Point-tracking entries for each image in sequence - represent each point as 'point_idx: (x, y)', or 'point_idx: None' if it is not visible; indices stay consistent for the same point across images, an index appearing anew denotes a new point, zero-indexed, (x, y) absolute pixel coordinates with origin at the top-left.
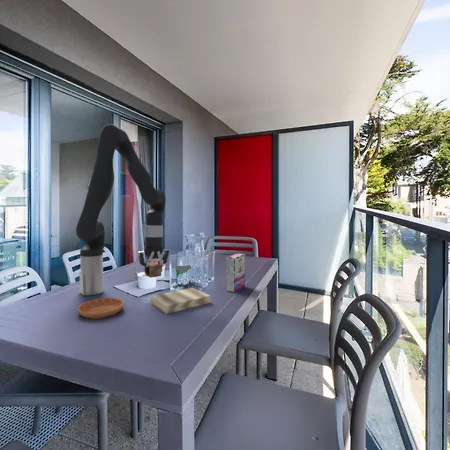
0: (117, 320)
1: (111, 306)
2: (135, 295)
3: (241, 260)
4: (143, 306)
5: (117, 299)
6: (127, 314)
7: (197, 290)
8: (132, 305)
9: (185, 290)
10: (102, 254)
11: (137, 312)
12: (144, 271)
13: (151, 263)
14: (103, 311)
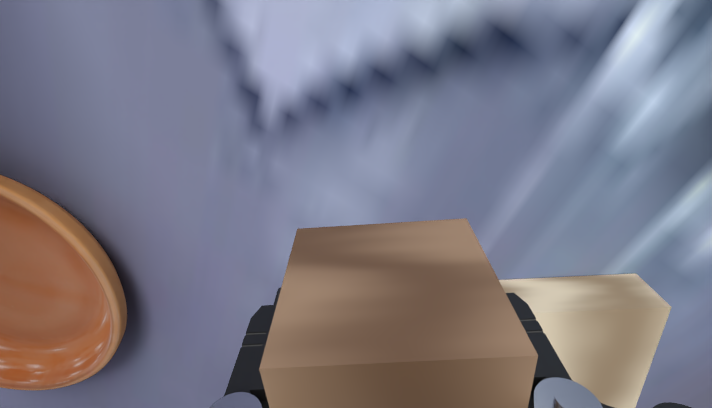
0: (111, 394)
1: (59, 254)
2: (252, 66)
3: None
4: (257, 309)
5: (73, 248)
6: (158, 361)
7: (641, 373)
8: (197, 266)
9: (577, 336)
10: None
11: (210, 362)
12: (247, 328)
13: (390, 385)
14: (21, 305)
